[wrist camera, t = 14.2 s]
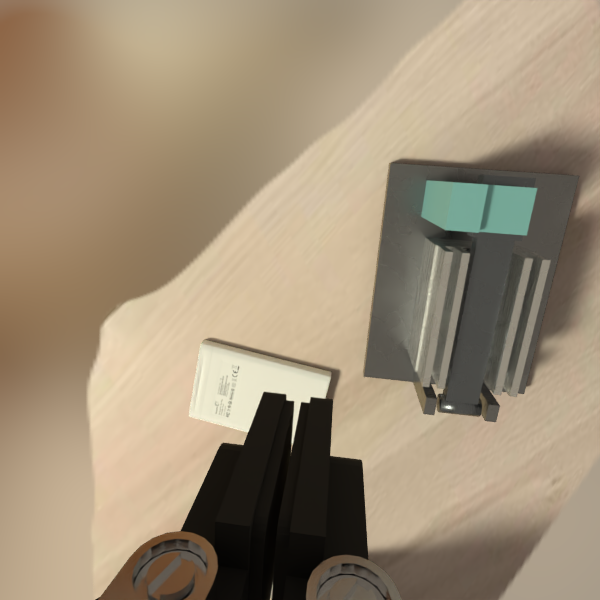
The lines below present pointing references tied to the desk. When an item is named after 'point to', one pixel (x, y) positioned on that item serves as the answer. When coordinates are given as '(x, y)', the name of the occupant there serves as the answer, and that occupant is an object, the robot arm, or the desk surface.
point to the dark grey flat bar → (478, 312)
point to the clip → (478, 207)
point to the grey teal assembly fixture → (457, 286)
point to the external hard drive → (248, 384)
